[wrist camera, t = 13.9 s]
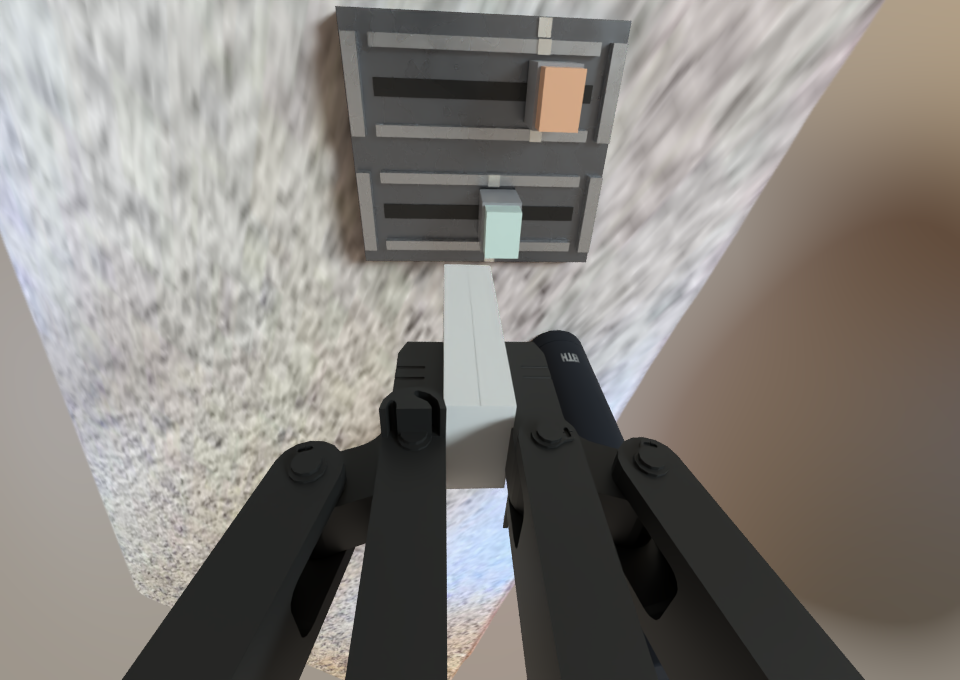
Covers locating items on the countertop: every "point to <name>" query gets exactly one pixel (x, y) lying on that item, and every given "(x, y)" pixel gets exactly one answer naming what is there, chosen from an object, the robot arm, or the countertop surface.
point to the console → (473, 129)
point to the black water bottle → (583, 404)
